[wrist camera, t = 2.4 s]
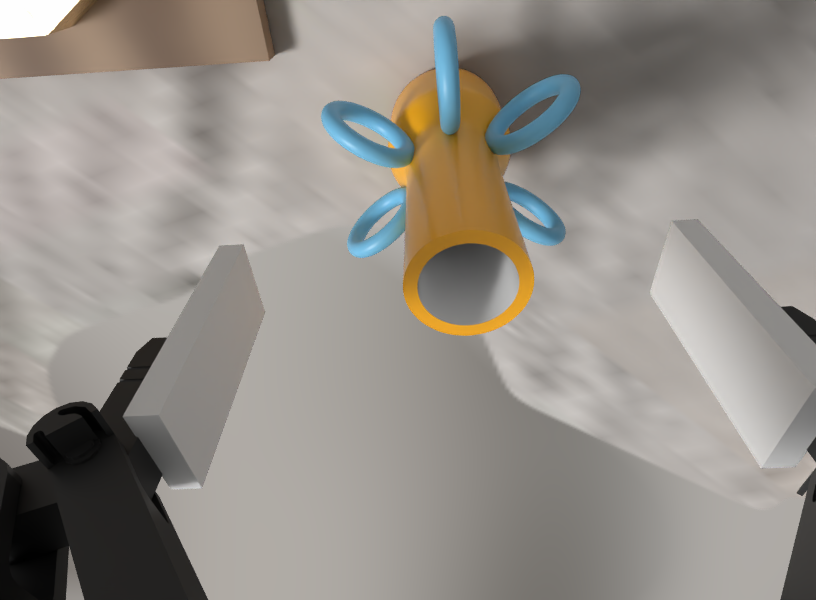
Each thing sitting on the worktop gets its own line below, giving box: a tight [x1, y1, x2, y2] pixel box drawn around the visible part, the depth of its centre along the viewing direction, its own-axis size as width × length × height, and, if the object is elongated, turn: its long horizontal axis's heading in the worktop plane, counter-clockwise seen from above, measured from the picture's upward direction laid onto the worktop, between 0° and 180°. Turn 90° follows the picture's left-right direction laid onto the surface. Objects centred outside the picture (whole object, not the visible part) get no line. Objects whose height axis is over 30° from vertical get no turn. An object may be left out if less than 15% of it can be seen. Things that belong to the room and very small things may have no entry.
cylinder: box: [321, 16, 581, 336], centre depth 21 cm, size 12×10×15 cm
